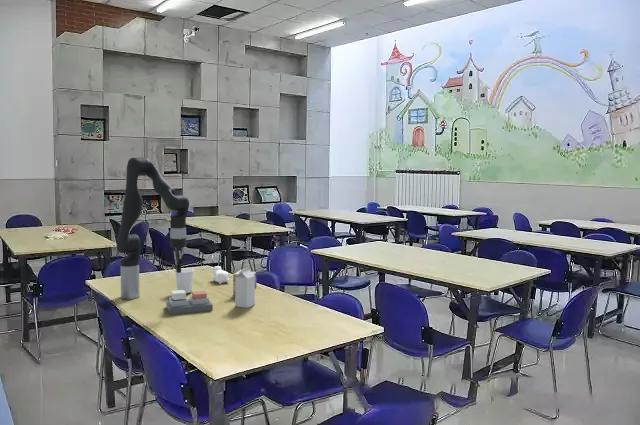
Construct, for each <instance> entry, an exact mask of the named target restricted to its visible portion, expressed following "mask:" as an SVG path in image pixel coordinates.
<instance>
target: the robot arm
mask: <svg viewBox="0 0 640 425" xmlns="http://www.w3.org/2000/svg"><path fill="white" fill-rule="evenodd" d="M145 176H146V177H148V178H149V179H151V181H152V186H153V189H154V192H156V194H158V195H159V197H161V198H162V200H163V202H164V204H165V206H166V207H167V208H168V209H169V210H171V211H173V212H174V211H176V212H175V214H174V215H172V216H170V230H169V232H170V233H169V241H170V242H169V243H170V244H169V246H170V247H171V248H173V249H174V250H173V255H174V263H175V270H176V272H177V273H181V269H182V265H183V260H184V251H183V248H187V226H186V224H187V222H186V221H187V220H186V219H187V216H188V211H189V207H190V200H189V198H188V197H187V195H183V194H181V195H180V194H179V195H176V189H175V188H174V187H173V186H172V185H171V184H170V183H169V182H167V181H166V179H164V177H163V176H162V175H161V173H160V172H159V170H158V169H157V167H156V166H155V164H154V163H153V162H152V160H150V159H149V158H147V157H143V156H142V157H140V156H139V157H131V158H129V159H128V161H127V165H126V180H125V181H126V182H125V183H126V184H125V191H124V198H123V206H122V213H121V220H120V225H119V230H118V233H117V237H116V249H117V250H116V251H117V252H119V253H120V254H125V253H127V255H126V256H125V257H124V258H122V259H121V260H120V263H119V264H120V298H121V300H134V299H137V298H139V297H141V296H140V294H141V293H140V292H141V291H140V260H141V239H140V237H139V235H138V234H136V233H133V234H130V231H131V230H132V227H133V226H134V224H135V223H136V222H137V221H138V219H139V218H140V217H141V214H142V213H143V212H142V211H143V206H144V201H143V197H142V194H141V192H140V190H139V188H138V179H139V177H145Z"/></svg>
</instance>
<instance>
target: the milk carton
mask: <svg viewBox="0 0 640 425" xmlns="http://www.w3.org/2000/svg"><path fill="white" fill-rule="evenodd" d="M240 270H241V271H240V272H239V274H238V275H237V276H236V277H235V296H234V299H235V300H234V304H235V305H234V306H235V307H240V308H244V309H248V308H251V307H252V306H255V305H256V304H255V303H256V302H255V301H256V300H255V298H256V297H255V296H256V295H255V294H256V293H255V292H256V290H255V289H256V288H255V276H254V274H253V273H252V272H253V271H252V270H251V269H250V267H245V268H242V269H240ZM250 270H251V271H250Z"/></svg>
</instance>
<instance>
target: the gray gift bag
mask: <svg viewBox="0 0 640 425" xmlns="http://www.w3.org/2000/svg"><path fill="white" fill-rule="evenodd" d="M241 270H242V269H240V270H238V271H236V272H235V273H233V276H232V278H233V279H232V281H233V284H232V285H233V287H232V288H233V290H232V291H233V294H232V296H233V297H235V277H236V276H237V275H238V274H239V272H240V271H241ZM249 270H250V271H251V272H252V273H253V274H254V276H255V289H256V288H257V271H252V269H249Z"/></svg>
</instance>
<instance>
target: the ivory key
mask: <svg viewBox="0 0 640 425" xmlns="http://www.w3.org/2000/svg"><path fill="white" fill-rule="evenodd" d="M170 294H171V297H172V299H173V300H178V299H186V298H187V294H186V292H185V291H184V290H177V289H176V290H171V293H170Z"/></svg>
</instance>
